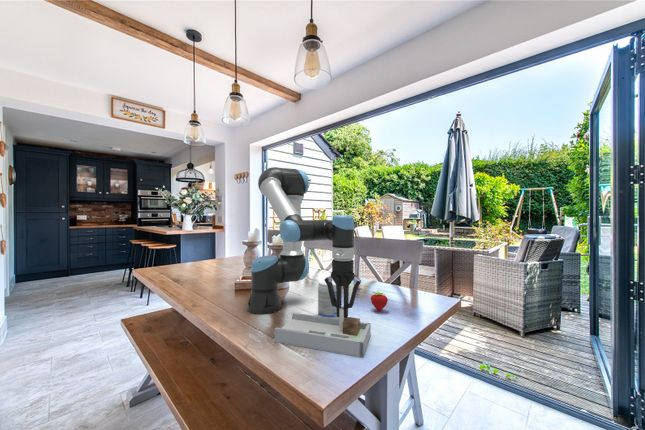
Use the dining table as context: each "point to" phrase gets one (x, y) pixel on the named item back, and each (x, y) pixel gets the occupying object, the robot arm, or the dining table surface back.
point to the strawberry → (379, 301)
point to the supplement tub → (326, 301)
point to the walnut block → (351, 326)
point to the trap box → (323, 335)
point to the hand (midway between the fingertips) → (342, 326)
